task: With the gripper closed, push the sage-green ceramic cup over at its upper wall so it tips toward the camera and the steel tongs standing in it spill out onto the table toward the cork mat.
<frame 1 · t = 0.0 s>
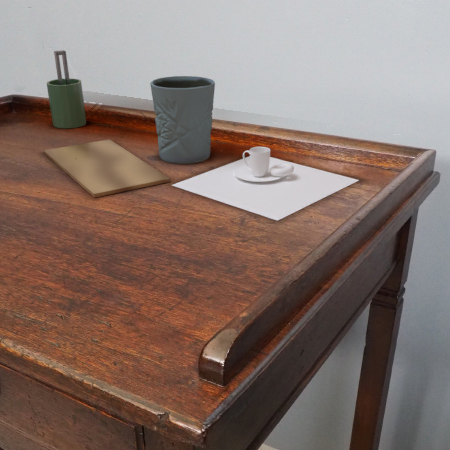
tongs: (64, 87, 118), point 7 cm above the table, touching green cup
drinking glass: (186, 156, 104), on the table
green cup: (69, 124, 122), on the table, touching tongs
cork mat: (103, 167, 99), on the table
teacup and saucer: (265, 183, 92), on the table
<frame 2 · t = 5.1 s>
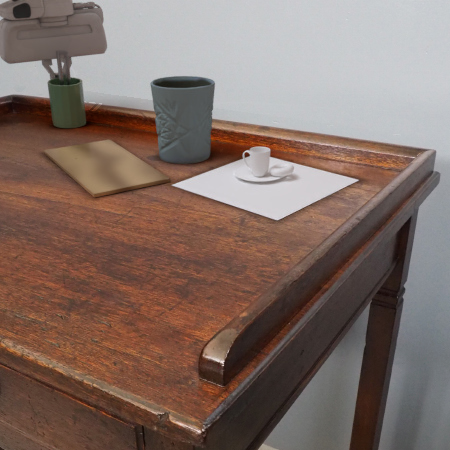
hand: (59, 82, 121), 7 cm above the table, tool pointing down, fingers closed, pressing on green cup
green cup: (69, 123, 121), on the table, touching gripper, tongs
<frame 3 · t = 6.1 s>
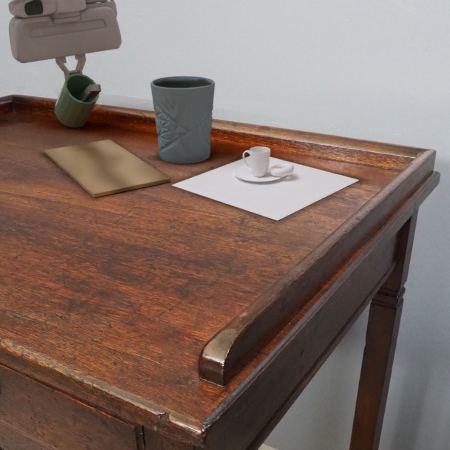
hand: (74, 80, 117), 8 cm above the table, tool pointing down, fingers closed, pressing on green cup
tongs: (83, 100, 114), point 6 cm above the table, tilted 61°, touching green cup
green cup: (71, 113, 120), point 2 cm above the table, tilted 46°, touching gripper, tongs
everything else where it was.
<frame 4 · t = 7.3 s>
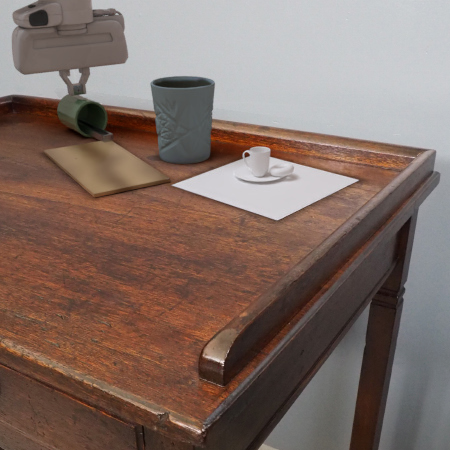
hand: (77, 94, 113), 7 cm above the table, tool pointing down, fingers closed
tongs: (92, 130, 113), point 1 cm above the table, tilted 90°, touching cork mat, green cup
green cup: (73, 110, 118), point 3 cm above the table, tilted 90°, touching tongs
everything else where it was.
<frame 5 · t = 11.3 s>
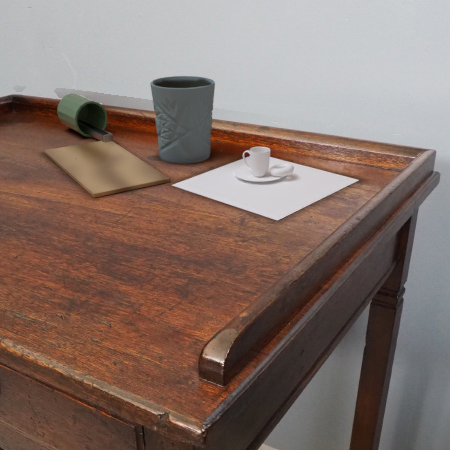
nothing on the table moved.
at the end: green cup tilted 90°; tongs inside the target area on the cork mat (14.0 cm from its centre), point 1.2 cm above the cork mat's base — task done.
